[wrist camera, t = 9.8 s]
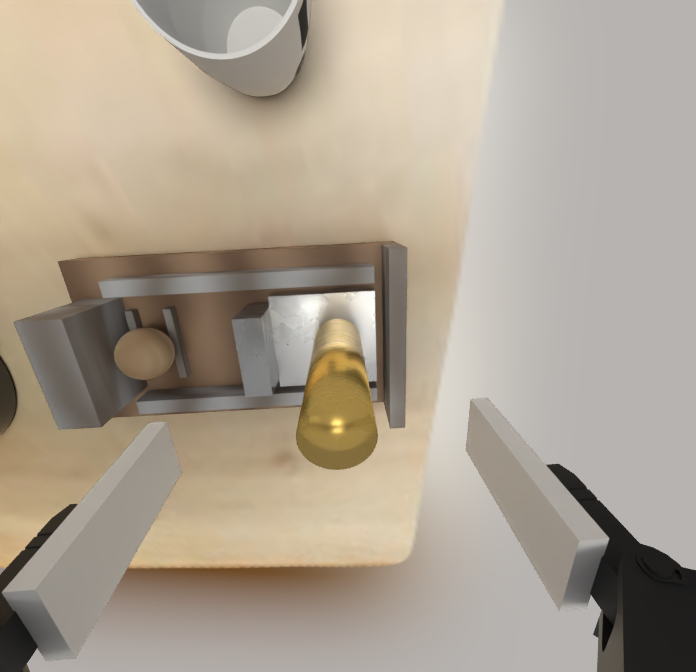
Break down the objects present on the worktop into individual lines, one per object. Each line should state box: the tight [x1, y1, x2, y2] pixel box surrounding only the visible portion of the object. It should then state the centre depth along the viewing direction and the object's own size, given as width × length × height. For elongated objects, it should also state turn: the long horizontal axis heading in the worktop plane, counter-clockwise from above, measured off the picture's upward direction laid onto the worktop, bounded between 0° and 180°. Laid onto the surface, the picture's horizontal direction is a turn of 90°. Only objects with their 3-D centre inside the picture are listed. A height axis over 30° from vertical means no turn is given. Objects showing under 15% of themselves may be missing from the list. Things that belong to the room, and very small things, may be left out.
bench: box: [13, 241, 407, 430], centre depth 26 cm, size 26×14×8 cm, turn 93°
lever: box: [231, 287, 378, 470], centre depth 21 cm, size 10×8×14 cm
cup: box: [131, 0, 311, 96], centre depth 18 cm, size 8×8×10 cm
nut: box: [114, 328, 175, 380], centre depth 25 cm, size 4×4×4 cm
